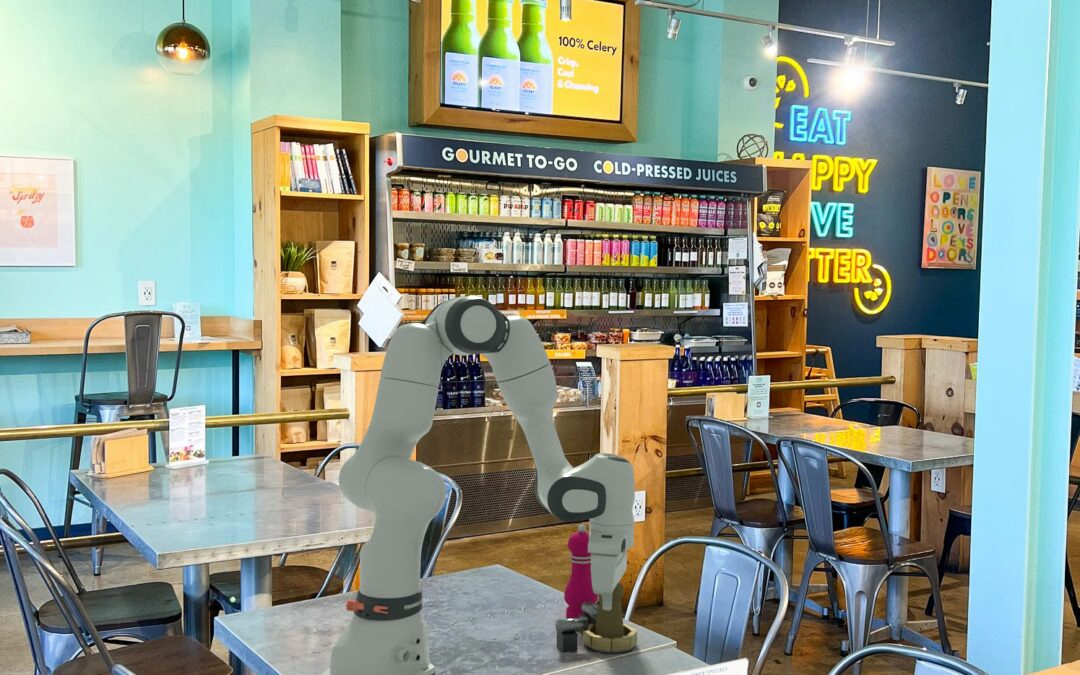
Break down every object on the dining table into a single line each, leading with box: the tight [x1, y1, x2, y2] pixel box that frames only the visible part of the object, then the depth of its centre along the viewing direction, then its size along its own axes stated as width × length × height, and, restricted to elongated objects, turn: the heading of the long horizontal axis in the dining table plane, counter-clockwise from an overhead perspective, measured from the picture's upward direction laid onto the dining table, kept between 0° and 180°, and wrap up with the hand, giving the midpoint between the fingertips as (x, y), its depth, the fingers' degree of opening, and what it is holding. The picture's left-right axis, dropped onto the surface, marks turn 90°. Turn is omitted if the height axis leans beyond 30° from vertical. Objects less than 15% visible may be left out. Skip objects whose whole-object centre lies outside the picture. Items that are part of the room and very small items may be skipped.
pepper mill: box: [563, 524, 599, 619], centre depth 226 cm, size 7×7×20 cm
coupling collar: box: [582, 623, 638, 655], centre depth 208 cm, size 10×10×3 cm
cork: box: [595, 582, 625, 637], centre depth 208 cm, size 6×6×11 cm
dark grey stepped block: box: [555, 617, 589, 654], centre depth 206 cm, size 6×4×6 cm, turn 107°
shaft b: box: [579, 601, 599, 634], centre depth 215 cm, size 6×4×6 cm, turn 22°
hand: (609, 605), depth 208 cm, fingers closed on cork, 4 cm apart
